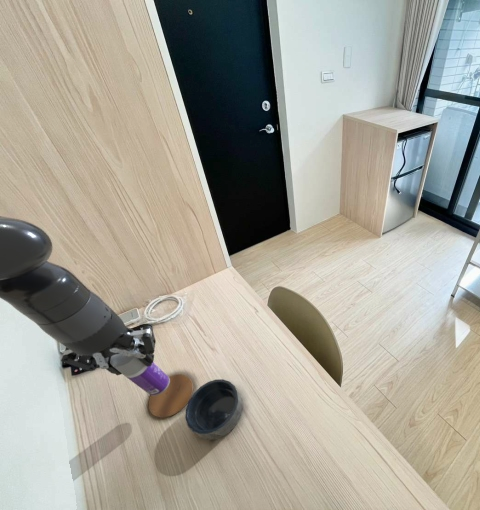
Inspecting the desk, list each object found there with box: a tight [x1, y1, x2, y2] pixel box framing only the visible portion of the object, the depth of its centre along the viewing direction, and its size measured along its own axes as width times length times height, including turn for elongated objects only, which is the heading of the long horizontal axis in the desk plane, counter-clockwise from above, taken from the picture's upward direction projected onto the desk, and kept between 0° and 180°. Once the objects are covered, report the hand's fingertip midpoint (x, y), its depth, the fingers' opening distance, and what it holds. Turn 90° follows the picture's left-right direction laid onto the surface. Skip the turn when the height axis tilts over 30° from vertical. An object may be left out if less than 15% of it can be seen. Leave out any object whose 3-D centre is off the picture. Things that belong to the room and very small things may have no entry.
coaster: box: [148, 373, 194, 419], centre depth 67 cm, size 10×10×1 cm
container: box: [110, 348, 170, 396], centre depth 57 cm, size 5×5×15 cm
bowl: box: [184, 378, 244, 441], centre depth 63 cm, size 11×11×6 cm
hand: (136, 365), depth 55 cm, fingers closed on container, 4 cm apart
